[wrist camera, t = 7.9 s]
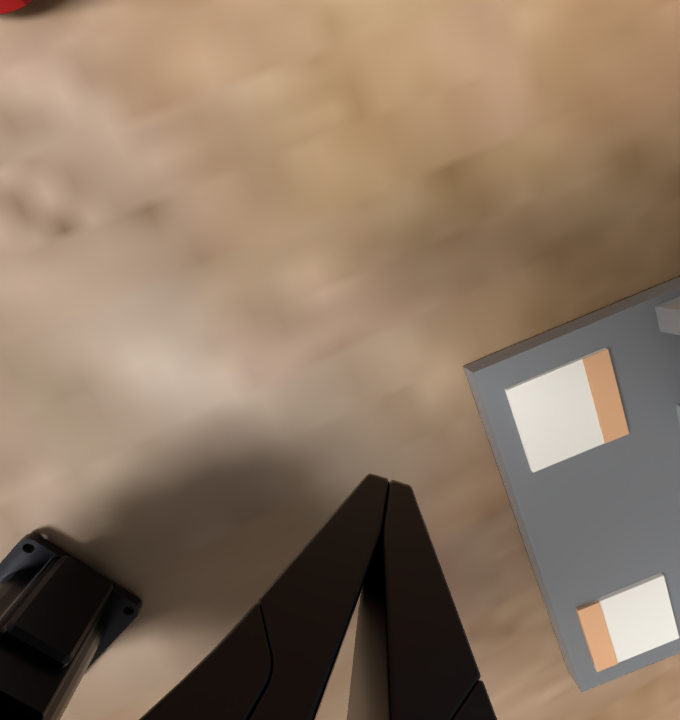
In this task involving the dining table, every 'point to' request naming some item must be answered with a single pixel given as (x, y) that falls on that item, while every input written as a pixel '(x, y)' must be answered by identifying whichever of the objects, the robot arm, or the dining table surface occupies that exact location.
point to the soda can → (12, 5)
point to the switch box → (596, 476)
